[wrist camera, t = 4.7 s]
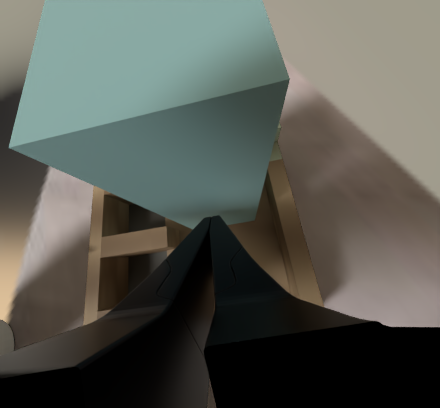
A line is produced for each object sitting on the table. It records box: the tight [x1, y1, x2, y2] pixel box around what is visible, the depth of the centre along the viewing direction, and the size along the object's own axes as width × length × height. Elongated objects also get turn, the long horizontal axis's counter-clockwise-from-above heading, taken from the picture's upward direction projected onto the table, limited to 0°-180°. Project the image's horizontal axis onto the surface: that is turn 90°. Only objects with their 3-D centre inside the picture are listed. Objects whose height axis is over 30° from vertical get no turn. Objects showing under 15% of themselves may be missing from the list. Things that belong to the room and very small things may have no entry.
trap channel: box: [83, 122, 324, 326], centre depth 13 cm, size 14×15×5 cm
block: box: [9, 0, 290, 229], centre depth 9 cm, size 5×5×12 cm
